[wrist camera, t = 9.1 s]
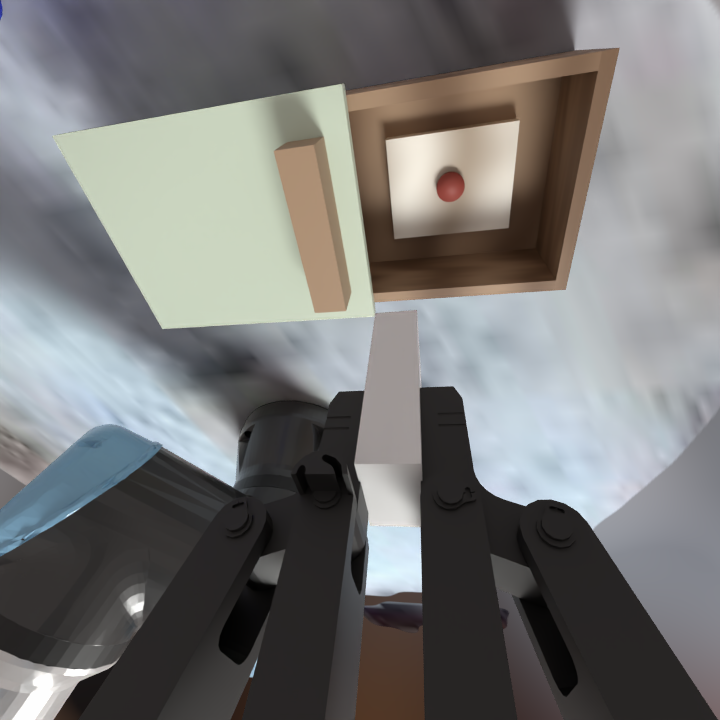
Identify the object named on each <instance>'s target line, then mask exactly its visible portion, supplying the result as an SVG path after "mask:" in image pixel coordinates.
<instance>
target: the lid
mask: <svg viewBox="0 0 720 720" xmlns="http://www.w3.org/2000/svg"><path fill="white" fill-rule="evenodd" d="M52 137H53V138H54V140H55V142H56V144H57V145H58V147H59V149H60V151H61V152H62V154H63V156H64V158H65V159H66V161H67V163H68V165H69V166H70V168H71V170H72V172H73V173H74V175H75V177H76V179H77V180H78V182H79V184H80V186H81V187H82V189H83V191H84V193H85V194H86V196H87V198H88V200H89V201H90V203H91V205H92V207H93V208H94V210H95V212H96V214H97V215H98V217H99V219H100V221H101V222H102V224H103V226H104V228H105V229H106V231H107V233H108V235H109V236H110V238H111V240H112V242H113V243H114V245H115V247H116V249H117V250H118V252H119V254H120V256H121V257H122V259H123V261H124V263H125V264H126V266H127V268H128V270H129V271H130V273H131V275H132V277H133V278H134V280H135V282H136V284H137V285H138V287H139V289H140V291H141V292H142V294H143V296H144V298H145V299H146V301H147V303H148V305H149V306H150V308H151V310H152V312H153V313H154V315H155V317H156V319H157V320H158V322H159V324H160V326H161V327H162V329H172V328H189V327H206V326H223V325H240V324H257V323H274V322H291V321H308V320H325V319H342V318H359V317H374V316H375V303H374V296H373V289H372V281H371V274H370V267H369V259H368V252H367V245H366V238H365V230H364V223H363V216H362V208H361V201H360V194H359V186H358V179H357V172H356V164H355V157H354V150H353V143H352V135H351V128H350V121H349V113H348V106H347V99H346V91H345V84H344V83H343V84H337V85H331V86H326V87H320V88H315V89H309V90H304V91H298V92H292V93H287V94H281V95H276V96H270V97H264V98H259V99H253V100H248V101H242V102H237V103H231V104H225V105H220V106H214V107H209V108H203V109H198V110H192V111H186V112H181V113H175V114H170V115H164V116H159V117H153V118H147V119H142V120H136V121H131V122H125V123H120V124H114V125H108V126H103V127H97V128H92V129H86V130H81V131H75V132H69V133H64V134H59V135H54V136H52Z"/></svg>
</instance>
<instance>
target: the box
mask: <svg viewBox="0 0 720 720" xmlns="http://www.w3.org/2000/svg"><path fill="white" fill-rule="evenodd" d="M618 53H619V48H609V49H592V50H575V51H569V52H563V53H558V54H552V55H546V56H540V57H535V58H529V59H523V60H518V61H512V62H506V63H501V64H495V65H489V66H483V67H478V68H472V69H466V70H461V71H455V72H449V73H444V74H438V75H432V76H426V77H421V78H415V79H409V80H404V81H398V82H392V83H387V84H381V85H375V86H369V87H364V88H358V89H352V90H347V91H346V99H347V106H348V113H349V121H350V128H351V135H352V143H353V150H354V157H355V164H356V172H357V179H358V186H359V194H360V201H361V208H362V216H363V223H364V230H365V238H366V245H367V252H368V259H369V267H370V274H371V281H372V289H373V296H374V302H385V301H400V300H415V299H431V298H446V297H461V296H476V295H491V294H506V293H521V292H537V291H552V290H566V286H567V281H568V277H569V272H570V268H571V263H572V259H573V254H574V250H575V245H576V241H577V236H578V232H579V227H580V223H581V218H582V214H583V209H584V205H585V201H586V196H587V192H588V187H589V183H590V178H591V174H592V169H593V165H594V160H595V156H596V151H597V147H598V142H599V138H600V133H601V129H602V124H603V120H604V115H605V111H606V106H607V102H608V97H609V93H610V88H611V84H612V79H613V75H614V71H615V66H616V62H617V57H618Z"/></svg>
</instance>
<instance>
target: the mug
mask: <svg viewBox="0 0 720 720" xmlns="http://www.w3.org/2000/svg"><path fill="white" fill-rule="evenodd" d="M1 17H2V4H1V0H0V19H1Z"/></svg>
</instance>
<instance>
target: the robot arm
mask: <svg viewBox="0 0 720 720" xmlns="http://www.w3.org/2000/svg"><path fill="white" fill-rule="evenodd" d="M368 519H369V523H370V526H398V527H421V558H422V606H423V654H424V702H425V720H517V715H516V708H515V702H514V697H513V690H512V684H511V678H510V672H509V665H508V659H507V653H506V647H505V641H504V634H503V628H502V622H501V616H500V610H499V604H498V598H497V592H496V588H497V589H499V590H502V591H504V592H506V593H509V594H511V595H512V597H513V599H514V601H515V604H516V606H517V609H518V611H519V613H520V616H521V618H522V621H523V623H524V625H525V628H526V630H527V633H528V635H529V638H530V640H531V642H532V645H533V647H534V650H535V652H536V654H537V657H538V659H539V661H540V664H541V666H542V669H543V671H544V673H545V676H546V678H547V681H548V683H549V685H550V688H551V690H552V693H553V695H554V697H555V700H556V702H557V705H558V707H559V709H560V712H561V715H562V717H563V719H564V720H718V719H717V718H716V716H715V715H714V713H713V712H712V710H711V709H710V707H709V706H708V704H707V703H706V701H705V700H704V698H703V697H702V695H701V694H700V692H699V690H698V689H697V687H696V686H695V684H694V683H693V681H692V680H691V678H690V677H689V676H688V674H687V672H686V671H685V669H684V668H683V666H682V665H681V663H680V662H679V660H678V659H677V657H676V656H675V654H674V653H673V651H672V650H671V648H670V647H669V645H668V644H667V642H666V641H665V639H664V637H663V636H662V635H661V633H660V631H659V630H658V629H657V627H656V625H655V624H654V622H653V621H652V619H651V618H650V616H649V615H648V613H647V612H646V610H645V609H644V607H643V606H642V604H641V603H640V601H639V600H638V599H637V597H636V595H635V594H634V592H633V591H632V589H631V588H630V586H629V584H628V583H627V581H626V580H625V579H624V577H623V575H622V574H621V572H620V571H619V570H618V568H617V566H616V565H615V563H614V562H613V560H612V559H611V557H610V556H609V554H608V553H607V551H606V550H605V548H604V547H603V545H602V544H601V542H600V541H599V539H598V538H597V536H596V535H595V533H594V532H593V530H592V528H591V527H590V525H589V524H588V523H587V521H586V520H585V519H584V518H583V517H582V516H581V515H580V514H579V513H578V512H577V511H576V510H574V509H573V508H571V507H569V506H568V505H566V504H564V503H561V502H557V501H554V500H537V501H535V502H532V503H530V504H528V505H527V506H523V505H519V504H516V503H513V502H510V501H507V500H504V499H501V498H499V497H496V496H494V495H493V494H491V493H490V492H488V491H487V490H486V489H485V488H484V487H483V486H482V485H481V484H480V483H479V481H478V479H477V478H476V476H475V473H474V469H473V463H472V457H471V450H470V444H469V438H468V431H467V427H466V419H465V413H464V406H463V400H462V397H461V396H460V395H459V393H458V392H457V391H456V389H455V388H454V387H453V386H451V387H425V388H421V367H420V351H419V336H418V320H417V310H412V311H399V312H385V313H375V320H374V327H373V334H372V341H371V348H370V355H369V363H368V370H367V377H366V384H365V391H346V392H339V393H338V394H337V395H336V396H335V398H334V399H333V400H332V402H331V403H330V406H329V410H327V409H324V408H322V407H319V406H316V405H313V404H308V403H303V402H295V401H281V402H274V403H270V404H267V405H264V406H262V407H260V408H258V409H256V410H255V411H253V412H252V413H251V414H250V416H249V417H248V418H247V420H246V422H245V424H244V427H243V429H242V431H241V433H240V436H239V442H238V455H237V469H236V481H235V485H234V487H231V486H230V485H228V484H226V483H224V482H223V481H221V480H219V479H217V478H216V477H214V476H212V475H210V474H209V473H207V472H205V471H203V470H202V469H200V468H198V467H196V466H195V465H193V464H191V463H189V462H188V461H186V460H184V459H182V458H181V457H179V456H177V455H175V454H174V453H172V452H170V451H168V450H167V449H165V448H163V447H162V445H161V444H159V443H158V442H152V441H150V440H148V439H146V438H144V437H142V436H140V435H138V434H136V433H134V432H132V431H130V430H128V429H126V428H124V427H121V426H118V425H113V424H108V425H102V426H98V427H95V428H93V429H91V430H90V431H88V432H87V433H86V434H84V435H83V436H82V437H81V438H80V439H78V440H77V441H76V442H75V443H74V444H73V445H72V446H71V447H69V448H68V449H67V450H66V451H65V452H64V453H63V454H62V455H60V456H59V457H58V458H57V459H56V460H55V461H54V462H52V463H51V464H50V465H49V466H48V467H47V468H46V469H45V470H44V471H42V472H41V473H40V474H39V475H38V476H37V477H36V478H35V479H33V480H32V481H31V482H30V483H29V484H28V485H27V486H26V487H25V488H23V489H22V490H21V491H20V492H19V493H18V494H17V495H16V496H14V497H13V498H12V499H11V500H10V501H9V502H8V503H7V504H6V505H5V506H4V507H2V508H1V509H0V720H53V719H54V718H55V716H56V715H57V713H58V712H59V710H60V709H61V707H62V705H63V704H64V703H65V701H66V700H67V698H68V697H69V695H70V694H71V692H72V691H73V689H74V688H75V686H76V685H77V683H78V682H79V681H80V680H83V679H85V678H87V677H90V676H92V675H95V674H97V673H99V672H102V671H104V670H106V669H108V668H110V667H111V666H113V665H114V664H115V663H116V662H117V660H118V659H119V658H120V659H119V661H118V662H117V663H116V665H115V666H114V668H113V669H112V671H111V672H110V674H109V675H108V677H107V678H106V680H105V681H104V683H103V684H102V686H101V687H100V689H99V690H98V692H97V693H96V695H95V696H94V698H93V699H92V701H91V702H90V704H89V705H88V707H87V708H86V710H85V711H84V713H83V714H82V715H81V717H80V719H79V720H230V719H231V717H232V714H233V712H234V710H235V708H236V706H237V703H238V701H239V699H240V697H241V694H242V692H243V690H244V687H245V685H246V683H247V681H248V679H249V677H253V679H252V683H251V687H250V690H249V694H248V699H247V702H246V706H245V710H244V714H243V718H242V720H355V710H356V698H357V686H358V673H359V662H360V649H361V637H362V624H363V613H364V601H365V589H366V577H367V565H368V553H369V546H368V538H367V525H368ZM137 631H138V632H137ZM136 632H137V633H136ZM135 633H136V635H135ZM134 635H135V636H134ZM133 636H134V638H133ZM132 638H133V639H132ZM131 639H132V641H131ZM130 641H131V643H130V644H129V642H130ZM128 644H129V645H128ZM127 646H128V647H127ZM126 647H127V648H126ZM125 649H126V650H125ZM124 650H125V651H124ZM123 652H124V653H123ZM121 655H122V656H121Z"/></svg>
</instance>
